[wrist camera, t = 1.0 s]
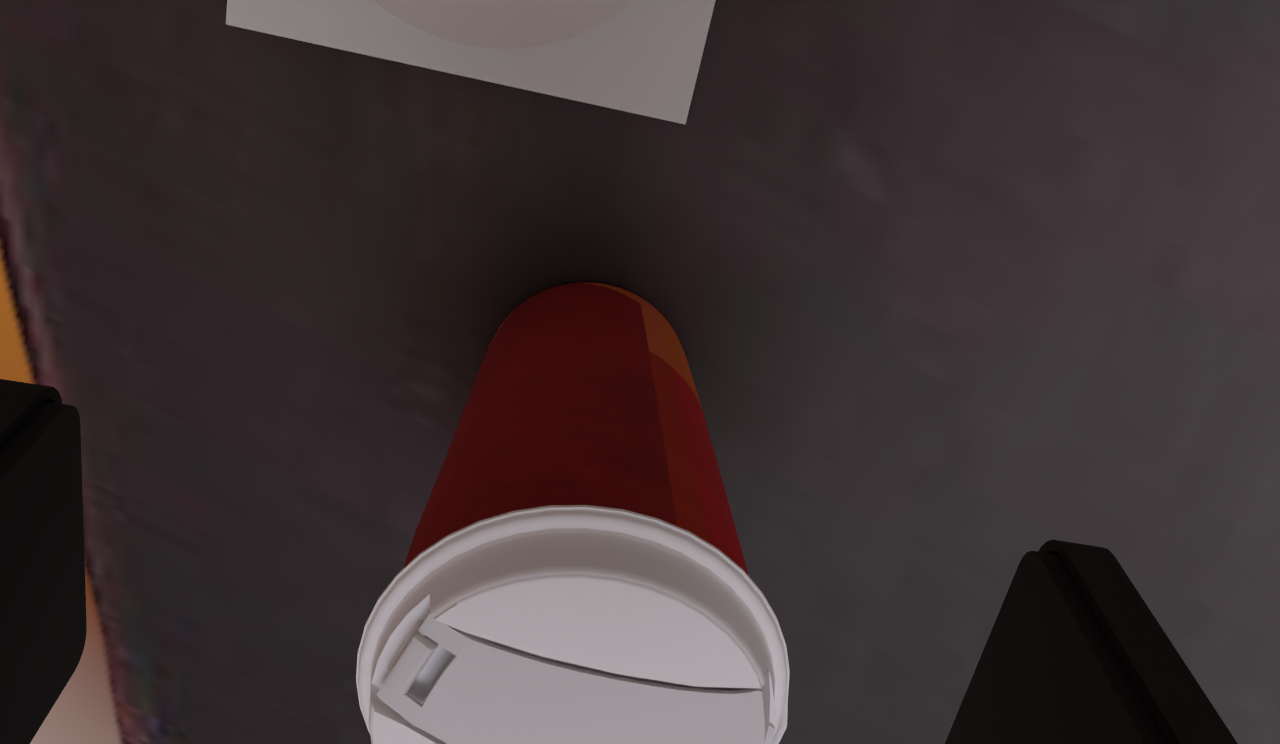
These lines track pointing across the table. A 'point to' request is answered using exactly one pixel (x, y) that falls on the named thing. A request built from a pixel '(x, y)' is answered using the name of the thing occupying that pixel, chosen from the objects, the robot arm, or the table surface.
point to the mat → (520, 50)
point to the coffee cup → (576, 555)
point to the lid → (504, 19)
